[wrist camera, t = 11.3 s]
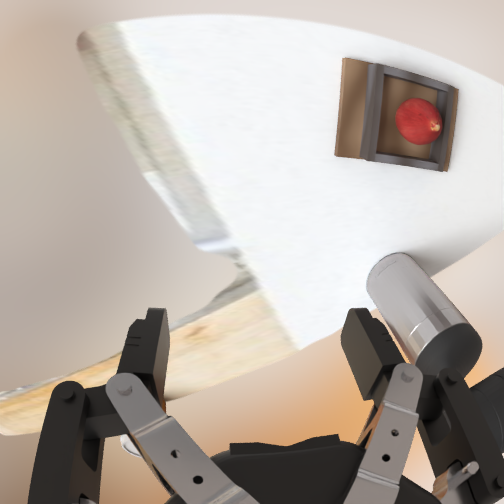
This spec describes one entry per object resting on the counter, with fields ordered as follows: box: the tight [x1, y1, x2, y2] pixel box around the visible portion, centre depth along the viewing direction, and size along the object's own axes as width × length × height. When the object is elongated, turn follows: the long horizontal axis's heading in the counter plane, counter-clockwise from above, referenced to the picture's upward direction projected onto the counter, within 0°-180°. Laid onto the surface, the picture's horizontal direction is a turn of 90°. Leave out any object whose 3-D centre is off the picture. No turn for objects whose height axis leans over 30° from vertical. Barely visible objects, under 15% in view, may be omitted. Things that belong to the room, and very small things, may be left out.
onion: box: [395, 98, 442, 145], centre depth 31 cm, size 6×6×8 cm
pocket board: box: [334, 58, 458, 172], centre depth 34 cm, size 18×13×4 cm
